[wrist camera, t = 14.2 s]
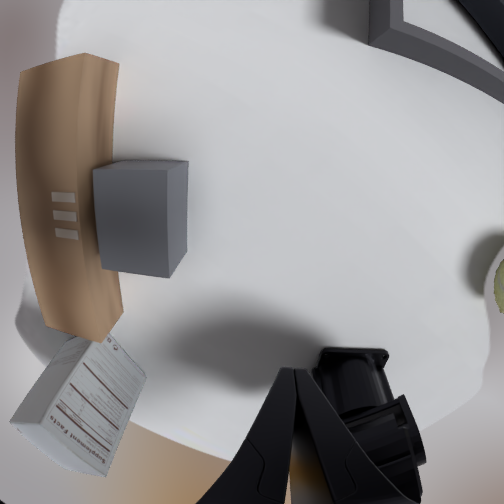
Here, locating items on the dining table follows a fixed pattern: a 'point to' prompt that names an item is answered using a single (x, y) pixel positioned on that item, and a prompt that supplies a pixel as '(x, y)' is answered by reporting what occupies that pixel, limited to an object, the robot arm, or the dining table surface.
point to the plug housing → (141, 216)
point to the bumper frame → (430, 48)
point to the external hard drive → (489, 18)
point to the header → (66, 190)
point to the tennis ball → (499, 286)
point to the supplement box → (81, 405)
